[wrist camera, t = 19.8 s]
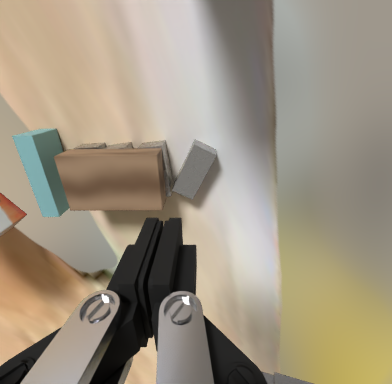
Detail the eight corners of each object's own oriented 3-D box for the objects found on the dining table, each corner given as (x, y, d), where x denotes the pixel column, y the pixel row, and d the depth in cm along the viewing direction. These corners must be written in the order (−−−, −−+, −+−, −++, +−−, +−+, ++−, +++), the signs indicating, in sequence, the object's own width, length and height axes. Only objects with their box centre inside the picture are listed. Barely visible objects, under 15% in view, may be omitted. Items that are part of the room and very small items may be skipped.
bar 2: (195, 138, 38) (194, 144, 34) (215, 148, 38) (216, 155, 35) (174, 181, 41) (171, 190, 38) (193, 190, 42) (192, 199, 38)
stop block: (39, 129, 38) (12, 135, 32) (56, 128, 37) (31, 135, 32) (62, 200, 44) (42, 216, 38) (77, 200, 44) (59, 216, 38)
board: (68, 149, 35) (53, 156, 31) (161, 148, 34) (156, 155, 31) (82, 198, 39) (70, 210, 35) (166, 198, 38) (162, 210, 35)
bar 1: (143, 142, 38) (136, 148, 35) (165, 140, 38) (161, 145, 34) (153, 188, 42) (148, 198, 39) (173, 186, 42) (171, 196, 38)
